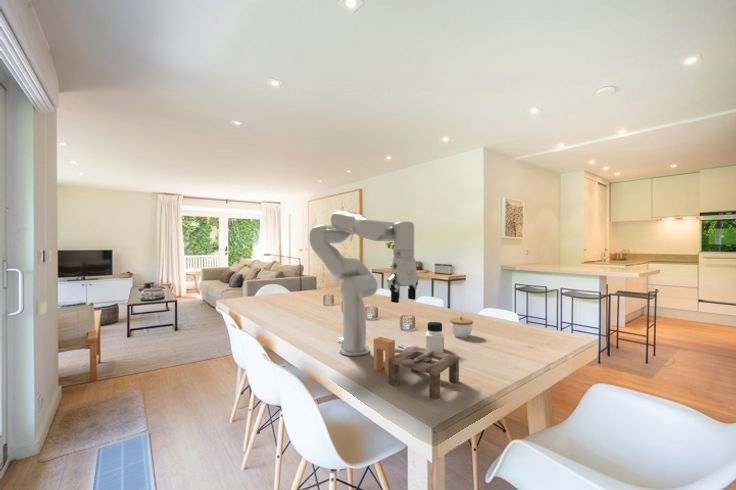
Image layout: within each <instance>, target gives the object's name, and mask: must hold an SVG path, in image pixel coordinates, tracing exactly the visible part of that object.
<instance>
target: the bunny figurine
mask: <svg viewBox="0 0 736 490" xmlns="http://www.w3.org/2000/svg"><path fill="white" fill-rule="evenodd" d="M397 347H398V348H396V347H395V354H400V353H402V352H404V351H406V350H408V349H410V348H412V347H418V348H423V349H426V347H420V346H419V345H418V344H414V343H410V344H407V345H404V344H402V343H399V344H398V345H397ZM427 350H429V349H427ZM410 359H411V358H410ZM432 360H433V359H432V358H428V357H425V358H423V359H422V360H420V362H423V363H427V362H429V361H431V362H432Z"/></svg>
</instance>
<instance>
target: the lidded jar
mask: <svg viewBox="0 0 736 490" xmlns="http://www.w3.org/2000/svg"><path fill="white" fill-rule="evenodd" d="M473 323H474V322H473V320H472V319H470V318H465V317H463V316H460V317H453V318H450V320H449V325H450V329H451V330H450V331H451V332H452V334H453V335H454V337H456V338H468V337H469V335H471V333H472V331H473Z"/></svg>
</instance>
